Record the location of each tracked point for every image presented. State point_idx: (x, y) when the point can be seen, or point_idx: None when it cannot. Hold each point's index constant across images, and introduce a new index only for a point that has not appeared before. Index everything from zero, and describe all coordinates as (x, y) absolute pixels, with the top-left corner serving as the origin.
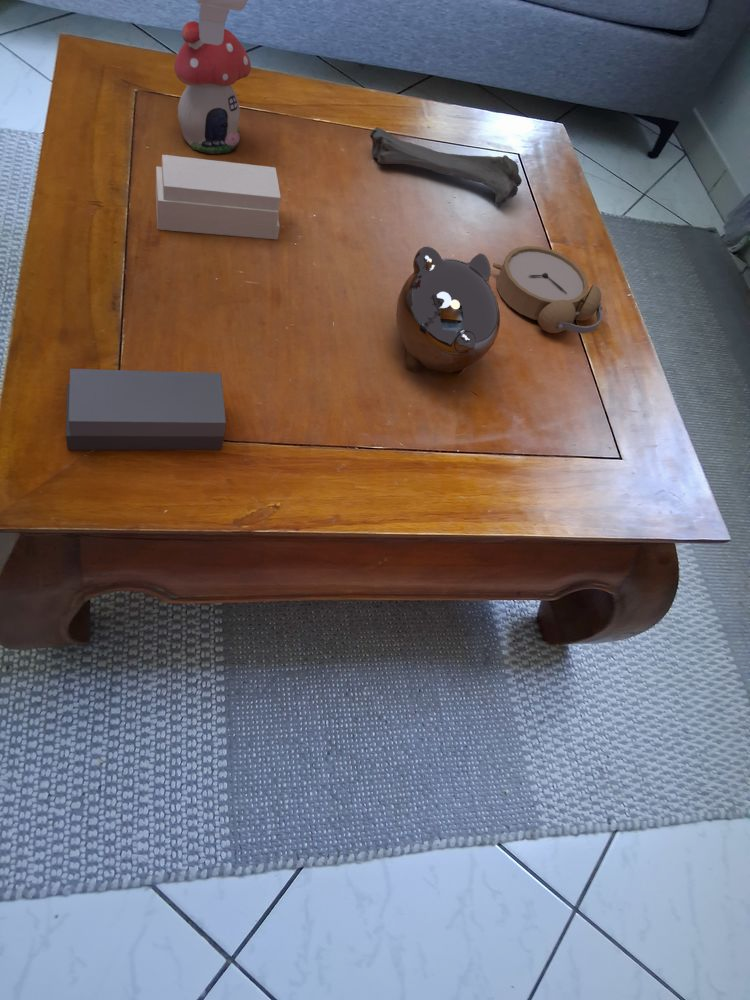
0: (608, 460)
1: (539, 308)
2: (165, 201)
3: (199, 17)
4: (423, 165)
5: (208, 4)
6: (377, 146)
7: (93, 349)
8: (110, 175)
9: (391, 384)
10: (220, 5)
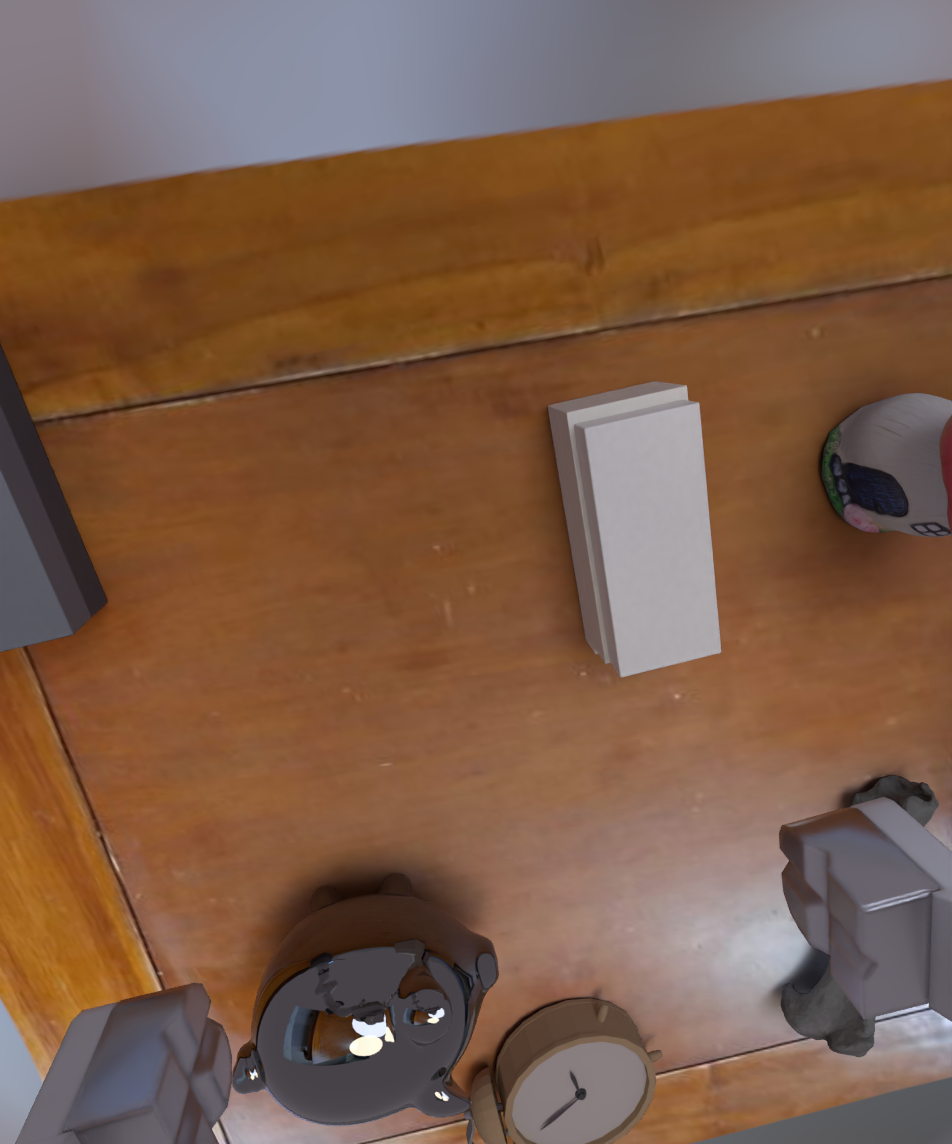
0: None
1: (503, 1084)
2: (568, 429)
3: (122, 1077)
4: None
5: None
6: (893, 797)
7: (148, 346)
8: (698, 267)
9: (270, 868)
10: None
